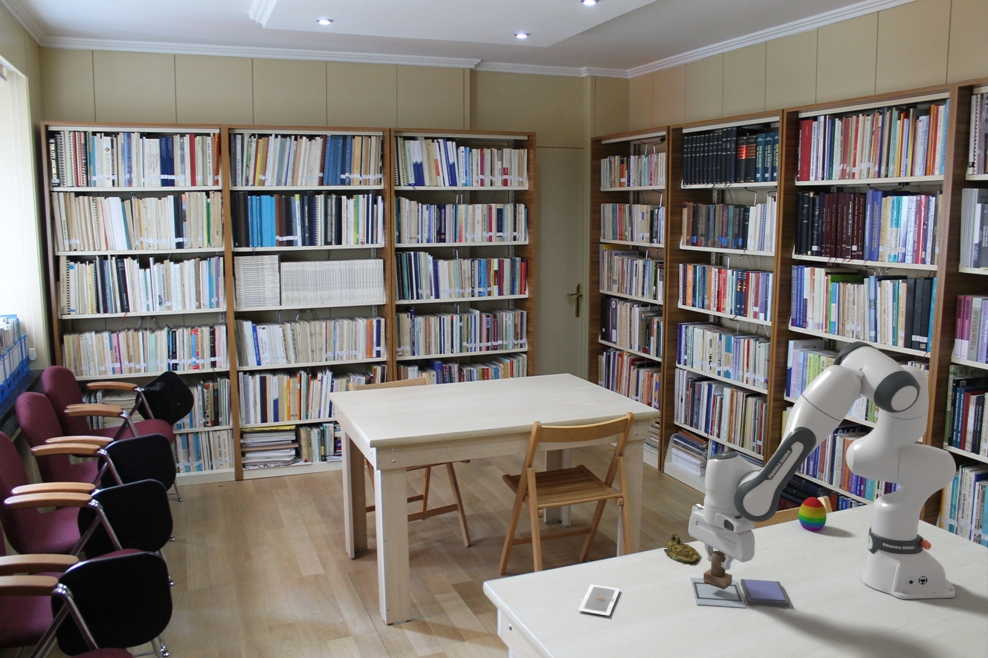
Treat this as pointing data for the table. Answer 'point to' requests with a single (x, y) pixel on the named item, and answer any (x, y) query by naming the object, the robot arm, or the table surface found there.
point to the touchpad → (599, 599)
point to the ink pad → (764, 593)
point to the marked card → (717, 594)
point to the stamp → (717, 572)
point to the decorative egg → (812, 514)
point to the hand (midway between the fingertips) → (718, 564)
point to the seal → (681, 551)
